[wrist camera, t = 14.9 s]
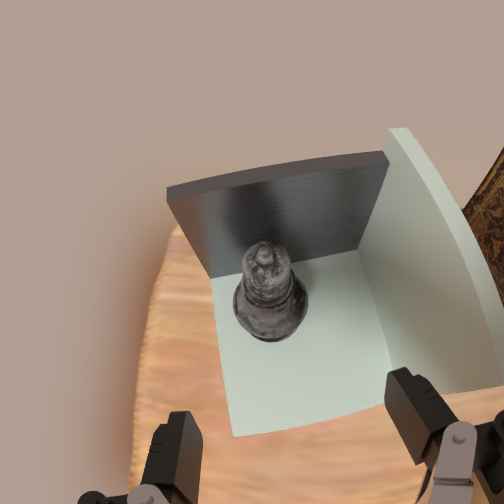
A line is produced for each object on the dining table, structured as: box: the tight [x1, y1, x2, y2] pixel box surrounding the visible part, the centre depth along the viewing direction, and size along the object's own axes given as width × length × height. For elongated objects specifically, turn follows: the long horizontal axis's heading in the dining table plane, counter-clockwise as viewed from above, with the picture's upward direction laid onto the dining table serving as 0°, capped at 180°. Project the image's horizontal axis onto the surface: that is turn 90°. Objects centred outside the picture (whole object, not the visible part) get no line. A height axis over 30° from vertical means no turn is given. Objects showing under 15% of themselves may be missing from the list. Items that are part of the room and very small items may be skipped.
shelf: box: [167, 128, 504, 437], centre depth 19 cm, size 16×16×16 cm
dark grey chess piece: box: [233, 241, 308, 343], centre depth 20 cm, size 6×6×12 cm
